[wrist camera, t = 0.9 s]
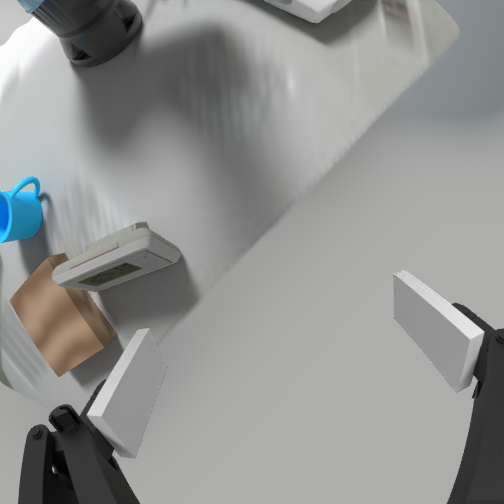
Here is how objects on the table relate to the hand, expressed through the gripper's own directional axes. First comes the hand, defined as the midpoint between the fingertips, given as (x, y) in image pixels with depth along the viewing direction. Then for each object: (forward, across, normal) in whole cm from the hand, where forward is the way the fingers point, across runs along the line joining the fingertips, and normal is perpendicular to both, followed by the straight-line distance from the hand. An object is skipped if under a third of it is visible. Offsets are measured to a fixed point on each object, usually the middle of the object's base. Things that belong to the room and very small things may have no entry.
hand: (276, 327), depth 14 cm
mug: (+27, -37, +13) cm, 48 cm away
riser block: (+24, -35, -6) cm, 43 cm away
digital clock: (+26, -19, 0) cm, 32 cm away
